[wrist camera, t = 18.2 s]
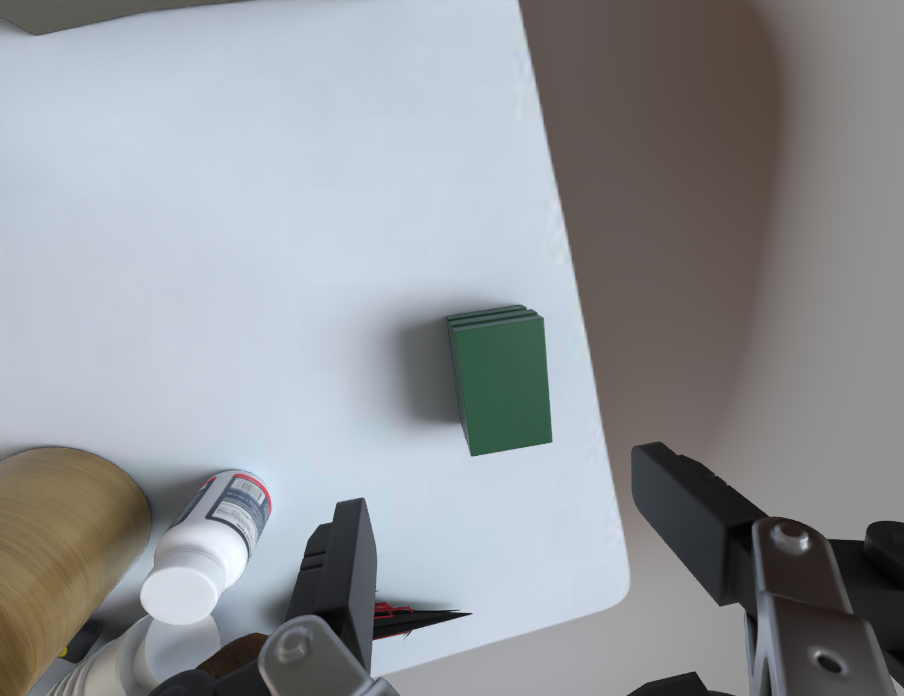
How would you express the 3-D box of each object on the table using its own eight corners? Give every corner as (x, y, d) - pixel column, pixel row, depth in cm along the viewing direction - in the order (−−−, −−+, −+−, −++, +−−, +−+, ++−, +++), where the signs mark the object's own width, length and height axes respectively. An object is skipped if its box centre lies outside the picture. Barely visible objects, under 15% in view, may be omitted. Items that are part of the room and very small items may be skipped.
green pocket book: (452, 327, 26) (454, 331, 25) (537, 314, 27) (543, 317, 25) (468, 448, 28) (471, 456, 27) (546, 434, 29) (552, 442, 28)
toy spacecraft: (289, 563, 30) (283, 699, 31) (482, 549, 34) (476, 672, 34) (295, 540, 34) (290, 662, 34) (469, 529, 37) (464, 640, 38)
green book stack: (446, 314, 30) (451, 325, 26) (522, 303, 30) (537, 312, 26) (461, 426, 32) (468, 449, 28) (531, 414, 32) (546, 435, 29)
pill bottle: (209, 533, 32) (139, 642, 23) (192, 473, 31) (110, 566, 22) (281, 523, 32) (237, 626, 24) (267, 463, 31) (215, 551, 22)
